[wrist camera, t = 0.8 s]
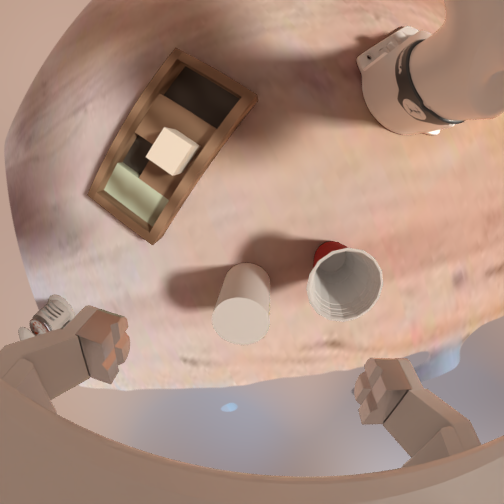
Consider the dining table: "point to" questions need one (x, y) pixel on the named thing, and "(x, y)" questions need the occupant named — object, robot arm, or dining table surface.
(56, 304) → the french press
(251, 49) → the dining table surface
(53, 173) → the dining table surface
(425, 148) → the dining table surface
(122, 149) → the box
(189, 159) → the block
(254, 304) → the beige cylinder
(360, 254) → the plastic cup
